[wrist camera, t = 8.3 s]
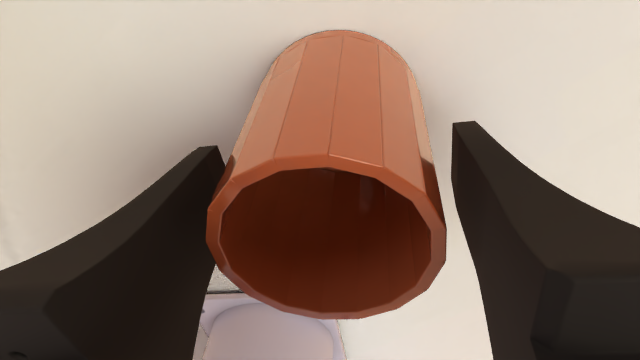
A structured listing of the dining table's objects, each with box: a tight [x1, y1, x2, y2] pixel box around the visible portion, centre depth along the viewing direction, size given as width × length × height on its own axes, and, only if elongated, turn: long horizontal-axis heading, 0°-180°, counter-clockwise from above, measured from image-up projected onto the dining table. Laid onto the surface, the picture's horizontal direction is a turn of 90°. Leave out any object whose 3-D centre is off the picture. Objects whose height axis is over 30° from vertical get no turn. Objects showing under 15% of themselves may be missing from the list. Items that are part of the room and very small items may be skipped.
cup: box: [205, 30, 447, 320], centre depth 13 cm, size 6×6×7 cm
